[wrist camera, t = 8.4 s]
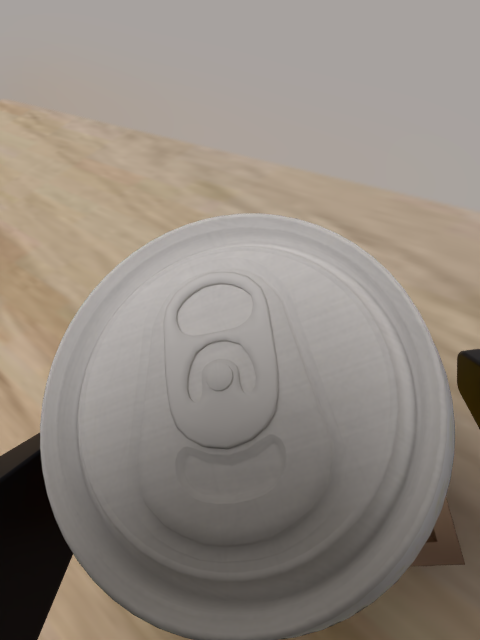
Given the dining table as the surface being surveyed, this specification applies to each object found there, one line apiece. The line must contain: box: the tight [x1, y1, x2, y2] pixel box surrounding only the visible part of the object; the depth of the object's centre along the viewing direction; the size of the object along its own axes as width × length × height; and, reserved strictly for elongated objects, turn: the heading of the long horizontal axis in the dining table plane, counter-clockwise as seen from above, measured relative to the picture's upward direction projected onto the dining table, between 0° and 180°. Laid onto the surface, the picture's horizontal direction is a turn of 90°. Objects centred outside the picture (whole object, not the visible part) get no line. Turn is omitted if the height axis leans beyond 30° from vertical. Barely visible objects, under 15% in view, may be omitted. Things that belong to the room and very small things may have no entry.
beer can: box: [40, 214, 455, 640], centre depth 11 cm, size 6×6×15 cm
